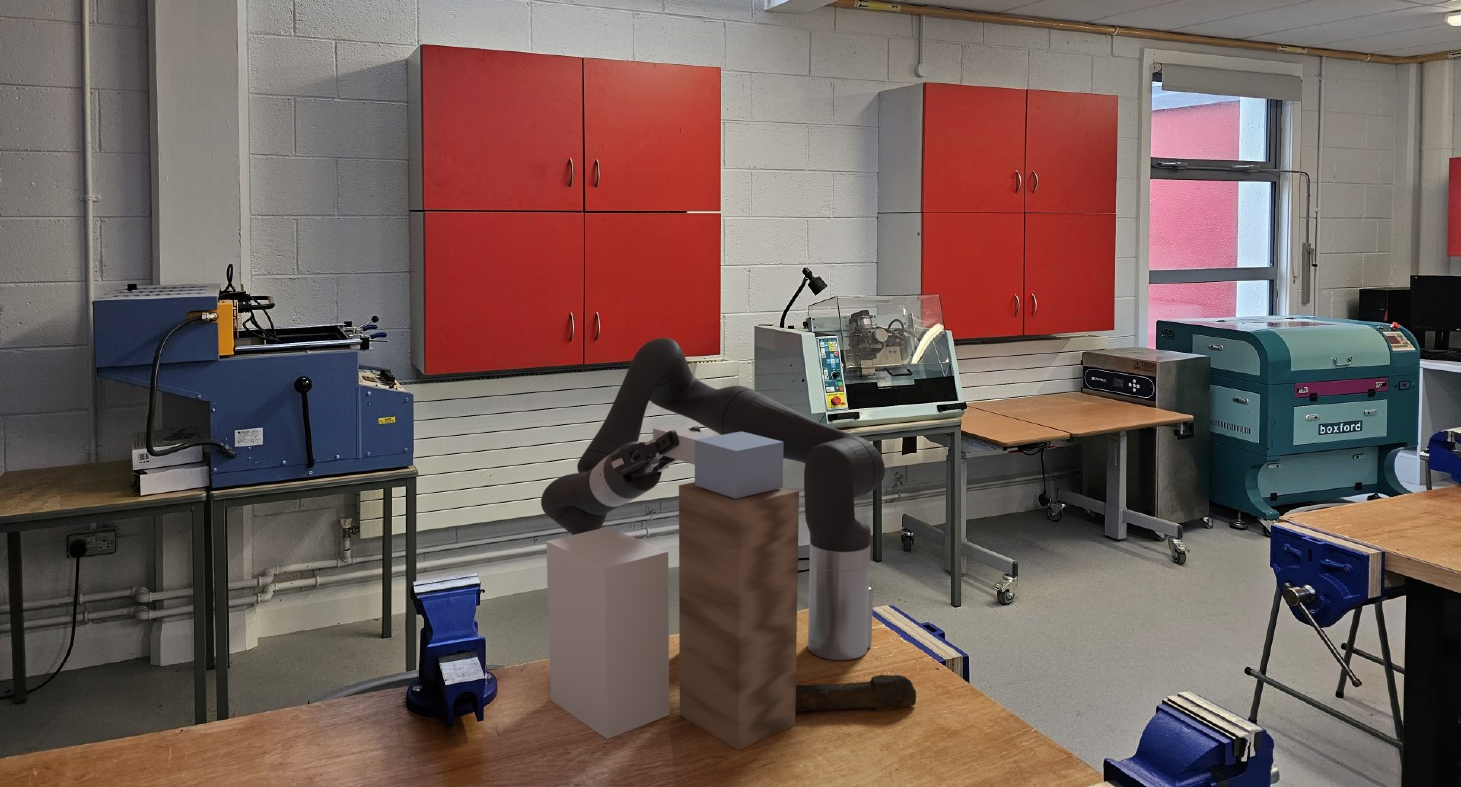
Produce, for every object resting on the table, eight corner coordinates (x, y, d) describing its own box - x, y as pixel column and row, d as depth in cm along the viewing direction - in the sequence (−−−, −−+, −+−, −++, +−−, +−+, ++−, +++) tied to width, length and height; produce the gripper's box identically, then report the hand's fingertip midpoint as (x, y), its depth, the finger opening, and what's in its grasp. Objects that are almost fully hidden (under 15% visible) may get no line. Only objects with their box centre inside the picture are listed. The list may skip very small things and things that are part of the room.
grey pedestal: (610, 679, 147) (608, 526, 143) (669, 714, 137) (668, 551, 133) (550, 700, 141) (546, 541, 137) (607, 739, 130) (604, 568, 126)
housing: (685, 458, 144) (685, 417, 143) (782, 487, 129) (783, 441, 128) (639, 467, 139) (639, 424, 138) (735, 498, 124) (736, 451, 123)
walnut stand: (735, 693, 143) (736, 473, 138) (795, 725, 134) (799, 491, 129) (679, 715, 137) (678, 485, 131) (738, 750, 128) (740, 505, 122)
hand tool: (780, 719, 136) (780, 687, 135) (777, 705, 140) (777, 674, 139) (919, 717, 137) (921, 685, 136) (912, 703, 141) (914, 672, 140)
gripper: (576, 458, 146) (636, 415, 133) (655, 444, 155) (718, 403, 142) (591, 507, 144) (654, 469, 131) (670, 490, 153) (736, 453, 140)
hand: (687, 435), depth 137 cm, fingers closed on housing, 3 cm apart
